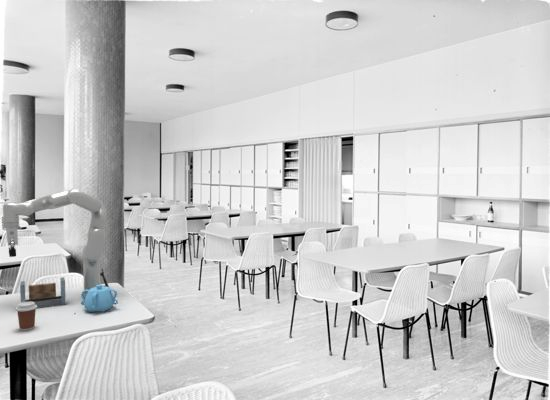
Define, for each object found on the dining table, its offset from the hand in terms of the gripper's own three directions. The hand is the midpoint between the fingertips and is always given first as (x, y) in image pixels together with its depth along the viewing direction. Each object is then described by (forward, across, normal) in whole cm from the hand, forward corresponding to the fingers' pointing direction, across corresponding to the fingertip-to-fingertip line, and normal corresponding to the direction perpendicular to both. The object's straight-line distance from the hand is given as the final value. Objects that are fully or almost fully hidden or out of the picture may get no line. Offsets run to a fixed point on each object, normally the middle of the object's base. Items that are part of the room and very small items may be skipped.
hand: (12, 255), depth 251 cm
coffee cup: (+29, -47, -4) cm, 55 cm away
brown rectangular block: (+28, +4, -15) cm, 32 cm away
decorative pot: (+29, -34, -40) cm, 60 cm away
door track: (+28, -10, -14) cm, 33 cm away
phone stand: (+29, +14, -50) cm, 59 cm away
